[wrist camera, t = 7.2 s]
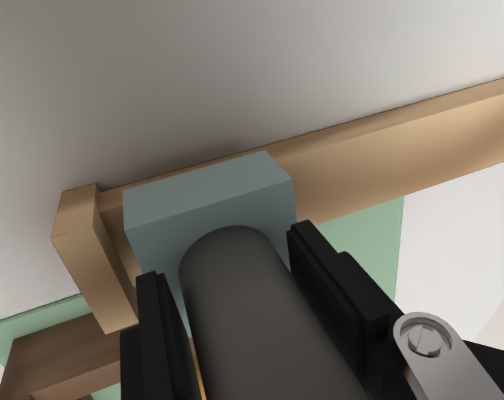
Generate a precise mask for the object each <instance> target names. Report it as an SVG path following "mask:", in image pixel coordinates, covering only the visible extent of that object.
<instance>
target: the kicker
mask: <svg viewBox="0 0 504 400" xmlns="http://www.w3.org/2000/svg"><path fill="white" fill-rule="evenodd" d="M122 194H123V214H124V231H125V233H126V236H127V238H128V240H129V243H130V245H131V247H132V250H133V252H134V254H135V257H136V259H137V261H138V263H139V266H140V268H141V270H142V273H143V274H144V273H147V272H150V271H153V270H155V271H156V273H157V274H160V273H164V275H165V277H166V280H167V282H168V285H169V287H170V290H171V292H172V295H173V298H174V300H175V303H176V305H177V308H178V311H179V313H180V316H181V318H182V321H183V323H184V326H185V329H186V331H187V334H188V338H190V337H192V339H193V344H194V348H195V352H196V357H197V361H198V365H199V370H200V374H201V378H202V383H203V387H204V391H205V396H206V400H370V398H369V397H368V395H367V393H366V392H365V390H364V389H363V387H362V385H361V384H360V382H359V381H358V379H357V378H356V376H355V374H354V373H353V371H352V370H351V368H350V366H349V365H348V363H347V362H346V360H345V358H344V357H343V355H342V354H341V352H340V351H339V349H338V347H337V346H336V344H335V343H334V341H333V339H332V338H331V336H330V335H329V333H328V332H327V330H326V328H325V327H324V325H323V324H322V322H321V320H320V319H319V317H318V316H317V314H316V312H315V311H314V309H313V308H312V306H311V305H310V303H309V301H308V300H307V298H306V297H305V295H304V293H303V292H302V290H301V289H300V287H299V286H298V284H297V282H296V281H295V279H294V278H293V276H292V274H291V269H290V261H289V253H288V246H287V238H286V231H288V230H291V225H292V224H295V223H297V216H296V206H295V196H294V187H293V179H292V178H291V177H290V176H289V174H288V173H287V172H286V171H285V170H284V169H283V168H282V167H281V166H280V165H279V164H278V163H277V162H276V161H275V160H274V159H273V158H272V157H271V156H270V155H269V154H268V153H267V151H266V150H262V151H259V152H255V153H252V154H248V155H245V156H241V157H238V158H234V159H231V160H227V161H224V162H220V163H217V164H213V165H210V166H206V167H203V168H199V169H196V170H192V171H189V172H185V173H182V174H178V175H175V176H171V177H168V178H164V179H161V180H157V181H154V182H150V183H147V184H143V185H140V186H136V187H133V188H129V189H126V190H122Z"/></svg>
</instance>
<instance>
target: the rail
mask: <svg viewBox="0 0 504 400" xmlns="http://www.w3.org/2000/svg"><path fill="white" fill-rule="evenodd" d="M262 150H266V151H267V153H268V154H269V155H270V156H271V157H272V158H273V159H274V160H275V161H276V162H277V163H278V164H279V165H280V166H281V167H282V168H283V169H284V170H285V171H286V172H287V173H288V174H289V176H290V177H291V178H292V179H293V187H294V196H295V206H296V216H297V223H298V222H301V221H304V220H307V219H309V220H310V221H311V222H312V223H313V224H314V226H316V225H319V224H322V223H325V222H328V221H330V220H333V219H336V218H339V217H342V216H345V215H348V214H351V213H354V212H357V211H360V210H363V209H366V208H369V207H372V206H375V205H378V204H381V203H384V202H387V201H390V200H393V199H396V198H399V197H401V196H404V195H407V194H410V193H413V192H416V191H419V190H422V189H425V188H428V187H431V186H434V185H437V184H440V183H443V182H446V181H449V180H452V179H455V178H458V177H461V176H464V175H467V174H469V173H472V172H475V171H478V170H481V169H484V168H487V167H490V166H493V165H496V164H499V163H502V162H504V78H502V79H499V80H495V81H492V82H488V83H485V84H481V85H478V86H474V87H471V88H467V89H464V90H460V91H456V92H453V93H449V94H446V95H442V96H439V97H435V98H432V99H428V100H425V101H421V102H418V103H414V104H410V105H407V106H403V107H400V108H396V109H393V110H389V111H386V112H382V113H379V114H375V115H372V116H368V117H365V118H361V119H357V120H354V121H350V122H347V123H343V124H340V125H336V126H333V127H329V128H326V129H322V130H319V131H315V132H311V133H308V134H304V135H301V136H297V137H294V138H290V139H287V140H283V141H280V142H276V143H273V144H269V145H265V146H262V147H258V148H255V149H251V150H248V151H244V152H241V153H237V154H234V155H230V156H227V157H223V158H219V159H216V160H212V161H209V162H205V163H202V164H198V165H195V166H191V167H188V168H184V169H181V170H177V171H173V172H170V173H166V174H163V175H159V176H156V177H152V178H149V179H145V180H142V181H138V182H135V183H131V184H127V185H124V186H120V187H117V188H113V189H110V190H106V191H103V192H100V191H99V189H98V186H97V184H96V183H94V184H91V185H87V186H84V187H80V188H76V189H73V190H69V191H66V192H62V194H61V198H60V202H59V206H58V210H57V214H56V218H55V222H54V226H53V230H52V234H51V238H50V240H51V242H52V244H53V245H54V247H55V249H56V251H57V252H58V254H59V256H60V257H61V259H62V261H63V263H64V264H65V266H66V268H67V269H68V271H69V273H70V275H71V276H72V278H73V280H74V282H75V283H76V285H77V287H78V288H79V290H80V292H81V294H82V295H83V297H84V299H85V300H86V302H87V304H88V306H89V307H90V309H91V311H92V312H93V314H94V316H95V318H96V319H97V321H98V323H99V325H100V326H101V328H102V330H103V331H104V333H105V335H106V334H109V333H111V332H114V331H117V330H120V329H123V328H125V327H128V326H131V325H134V324H137V323H139V319H138V306H137V293H136V281H135V277H136V276H138V275H141V274H143V273H142V270H141V268H140V266H139V263H138V261H137V259H136V257H135V254H134V252H133V250H132V247H131V245H130V243H129V240H128V238H127V236H126V233H125V231H124V214H123V194H122V190H126V189H129V188H133V187H136V186H140V185H143V184H147V183H150V182H154V181H157V180H161V179H164V178H168V177H171V176H175V175H178V174H182V173H185V172H189V171H192V170H196V169H199V168H203V167H206V166H210V165H213V164H217V163H220V162H224V161H227V160H231V159H234V158H238V157H241V156H245V155H248V154H252V153H255V152H259V151H262Z"/></svg>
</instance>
